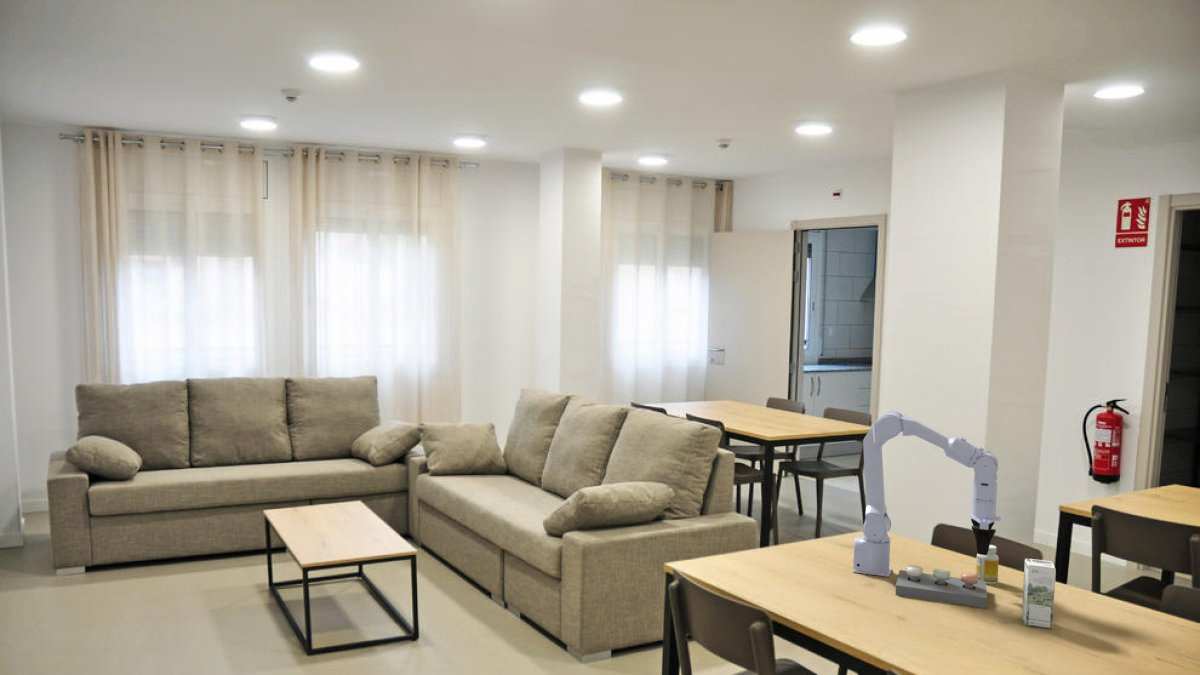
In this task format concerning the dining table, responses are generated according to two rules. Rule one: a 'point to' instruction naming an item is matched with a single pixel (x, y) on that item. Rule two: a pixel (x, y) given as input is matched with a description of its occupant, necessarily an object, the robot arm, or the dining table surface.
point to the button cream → (914, 572)
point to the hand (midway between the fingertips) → (981, 550)
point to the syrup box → (1038, 593)
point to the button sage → (941, 576)
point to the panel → (942, 590)
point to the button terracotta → (969, 579)
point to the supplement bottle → (988, 566)
